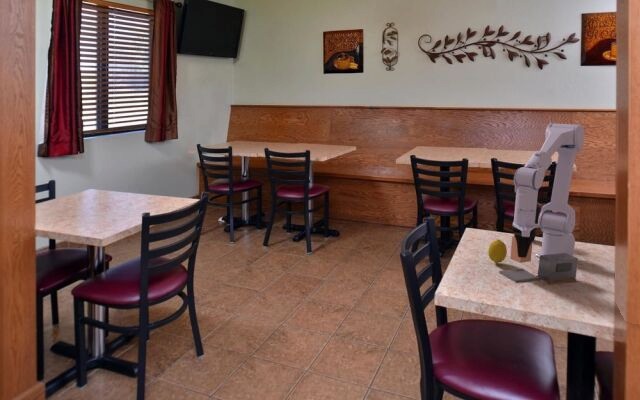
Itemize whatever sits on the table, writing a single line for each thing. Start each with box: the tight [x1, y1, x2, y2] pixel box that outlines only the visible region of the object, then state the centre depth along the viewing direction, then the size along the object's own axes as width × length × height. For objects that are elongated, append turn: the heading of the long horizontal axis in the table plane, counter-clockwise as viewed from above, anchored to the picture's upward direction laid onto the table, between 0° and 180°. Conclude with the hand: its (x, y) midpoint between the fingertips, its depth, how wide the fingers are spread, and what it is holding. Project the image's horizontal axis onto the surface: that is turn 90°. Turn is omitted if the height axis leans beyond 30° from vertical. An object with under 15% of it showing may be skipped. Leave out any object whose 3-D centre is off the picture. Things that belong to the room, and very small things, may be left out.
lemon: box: [487, 239, 508, 264], centre depth 162 cm, size 6×6×8 cm
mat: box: [498, 268, 540, 283], centre depth 152 cm, size 8×8×1 cm
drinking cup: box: [530, 201, 543, 242], centre depth 187 cm, size 8×8×20 cm
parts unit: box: [536, 253, 579, 285], centre depth 149 cm, size 9×6×7 cm, turn 105°
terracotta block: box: [509, 235, 534, 264], centre depth 151 cm, size 4×4×7 cm
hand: (521, 253), depth 151 cm, fingers closed on terracotta block, 6 cm apart
